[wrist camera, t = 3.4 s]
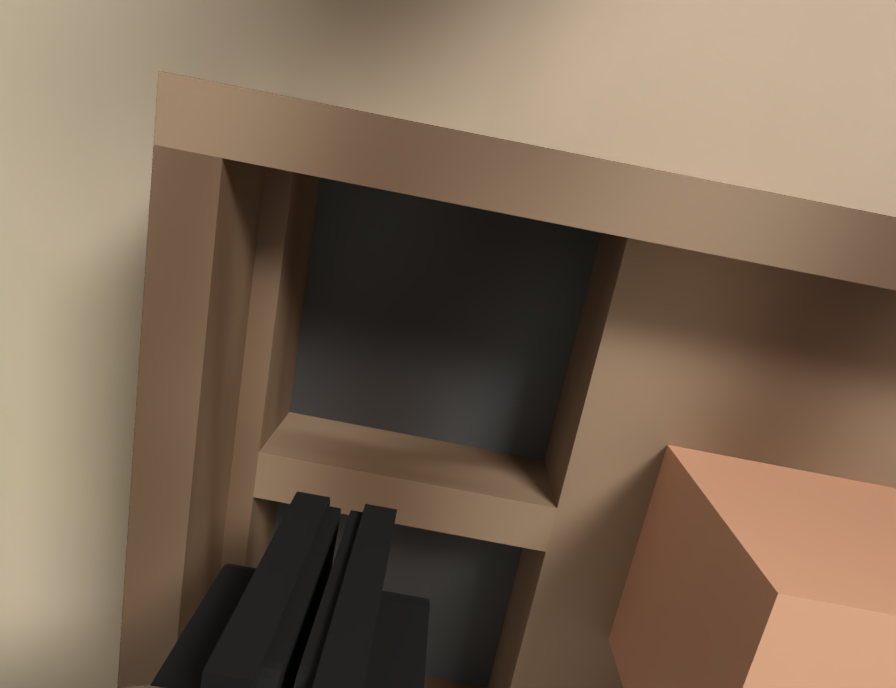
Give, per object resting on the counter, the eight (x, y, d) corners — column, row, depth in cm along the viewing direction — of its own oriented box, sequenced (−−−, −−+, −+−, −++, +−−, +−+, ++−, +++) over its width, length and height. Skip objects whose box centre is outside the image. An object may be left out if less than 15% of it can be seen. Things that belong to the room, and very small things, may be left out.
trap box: (1318, 315, 14) (1718, 381, 9) (1040, 811, 17) (1234, 1026, 13) (260, 105, 13) (157, 71, 9) (201, 658, 17) (107, 826, 12)
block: (894, 487, 12) (1130, 659, 8) (816, 677, 13) (983, 918, 9) (667, 444, 12) (778, 593, 8) (608, 639, 13) (676, 863, 9)
